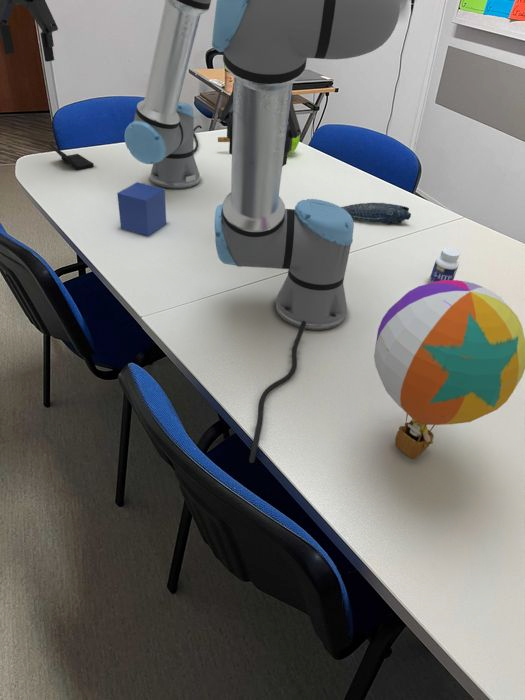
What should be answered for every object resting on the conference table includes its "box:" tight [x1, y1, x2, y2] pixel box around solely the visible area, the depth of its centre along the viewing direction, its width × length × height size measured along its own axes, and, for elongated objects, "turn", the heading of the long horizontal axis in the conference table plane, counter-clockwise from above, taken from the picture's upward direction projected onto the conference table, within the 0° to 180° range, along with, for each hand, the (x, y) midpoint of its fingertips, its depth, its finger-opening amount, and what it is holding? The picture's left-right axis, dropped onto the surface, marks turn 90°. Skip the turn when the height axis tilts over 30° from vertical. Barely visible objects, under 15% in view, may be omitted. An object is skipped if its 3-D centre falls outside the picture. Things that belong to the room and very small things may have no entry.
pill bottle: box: [428, 247, 461, 284], centre depth 123 cm, size 5×5×9 cm
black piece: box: [49, 143, 95, 171], centre depth 167 cm, size 12×7×10 cm
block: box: [116, 181, 167, 237], centre depth 135 cm, size 8×9×10 cm
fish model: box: [340, 202, 412, 225], centre depth 150 cm, size 7×21×5 cm, turn 84°
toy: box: [373, 279, 525, 460], centre depth 74 cm, size 20×20×30 cm
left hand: (29, 57), depth 142 cm, fingers open, 13 cm apart
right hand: (257, 159), depth 127 cm, fingers open, 13 cm apart
